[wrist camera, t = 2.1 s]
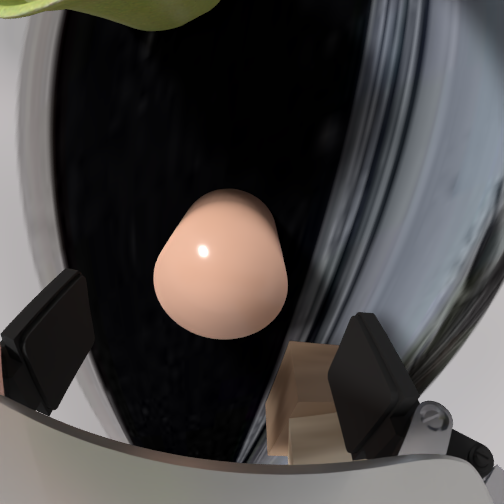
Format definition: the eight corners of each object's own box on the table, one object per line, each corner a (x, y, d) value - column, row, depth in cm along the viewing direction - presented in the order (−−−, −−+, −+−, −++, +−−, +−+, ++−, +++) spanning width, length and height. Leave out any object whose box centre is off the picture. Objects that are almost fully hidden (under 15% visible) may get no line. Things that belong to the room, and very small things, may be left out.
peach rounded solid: (186, 182, 14) (154, 214, 9) (285, 197, 14) (301, 236, 9) (179, 269, 16) (154, 328, 11) (267, 282, 16) (272, 345, 11)
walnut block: (289, 338, 18) (298, 401, 13) (382, 345, 19) (407, 398, 14) (265, 401, 21) (267, 455, 16) (345, 404, 21) (358, 452, 17)
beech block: (289, 418, 14) (297, 506, 9) (382, 403, 14) (408, 481, 9) (287, 455, 16) (293, 523, 12) (363, 444, 16) (379, 507, 11)
